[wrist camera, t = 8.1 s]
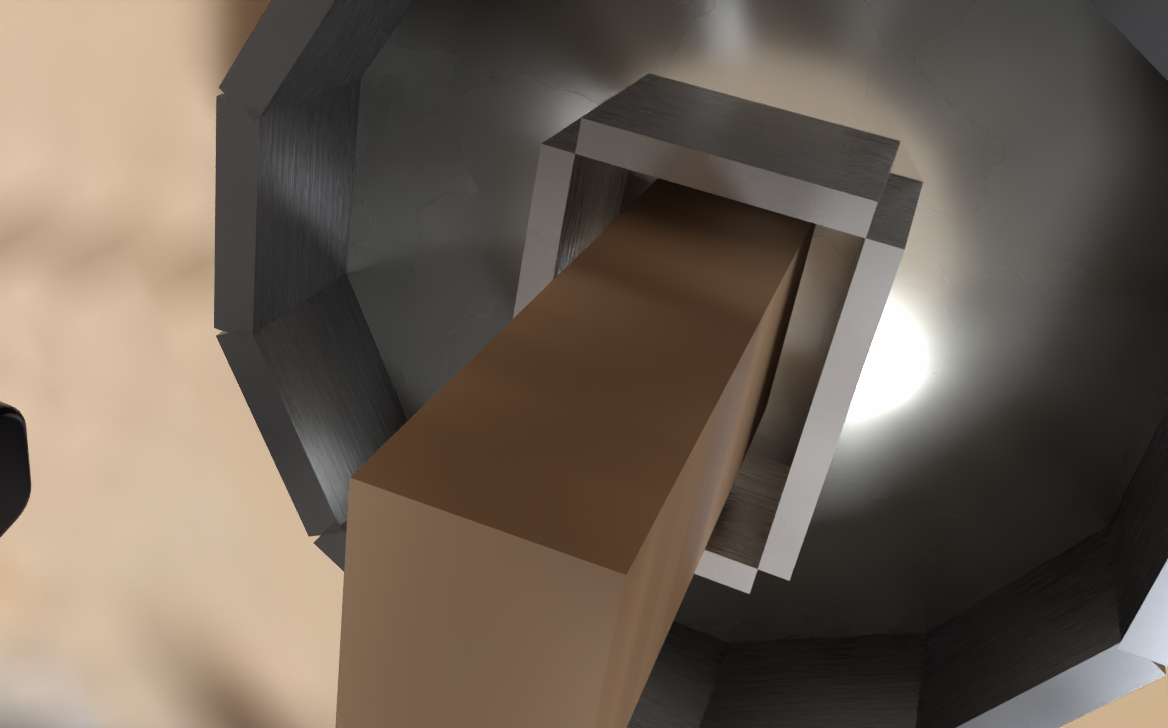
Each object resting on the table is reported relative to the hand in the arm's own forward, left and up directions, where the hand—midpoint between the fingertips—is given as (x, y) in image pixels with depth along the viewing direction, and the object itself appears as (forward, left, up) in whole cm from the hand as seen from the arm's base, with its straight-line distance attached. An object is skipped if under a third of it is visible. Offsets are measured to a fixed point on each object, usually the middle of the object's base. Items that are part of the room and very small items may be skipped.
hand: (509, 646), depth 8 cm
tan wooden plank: (0, 0, -8) cm, 8 cm away
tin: (0, 0, -8) cm, 8 cm away
